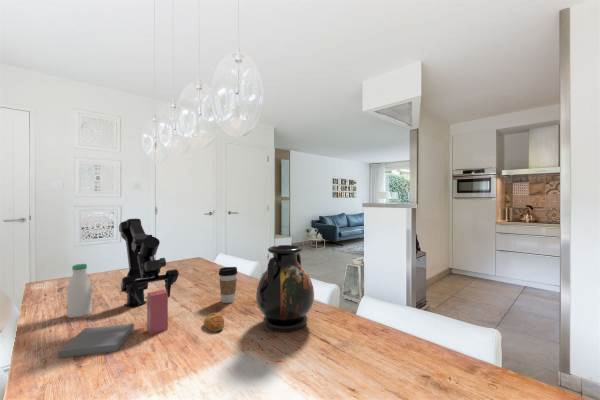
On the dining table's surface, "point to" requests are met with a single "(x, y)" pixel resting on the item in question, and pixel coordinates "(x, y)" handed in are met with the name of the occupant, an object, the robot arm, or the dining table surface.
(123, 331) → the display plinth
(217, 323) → the pastry
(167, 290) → the robot arm
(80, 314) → the milk bottle
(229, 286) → the coffee cup
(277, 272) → the amphora vase
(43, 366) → the dining table surface
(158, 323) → the red rectangular block
